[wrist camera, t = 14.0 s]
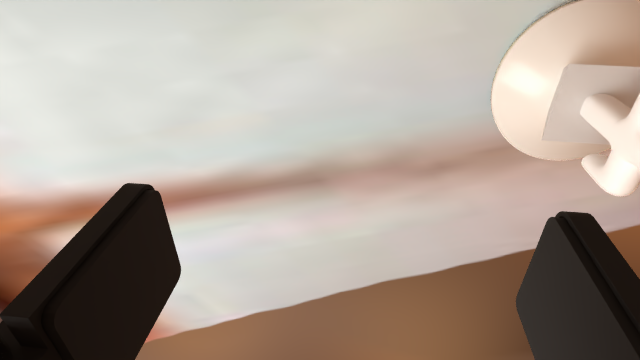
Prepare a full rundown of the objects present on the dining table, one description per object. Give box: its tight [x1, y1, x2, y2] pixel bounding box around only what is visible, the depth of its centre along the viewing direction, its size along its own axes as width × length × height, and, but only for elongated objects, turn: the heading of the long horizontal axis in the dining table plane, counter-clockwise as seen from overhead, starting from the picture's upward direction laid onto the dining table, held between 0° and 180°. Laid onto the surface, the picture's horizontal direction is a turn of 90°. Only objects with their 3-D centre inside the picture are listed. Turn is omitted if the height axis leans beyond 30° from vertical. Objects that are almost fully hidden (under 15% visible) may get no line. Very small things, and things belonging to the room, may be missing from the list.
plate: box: [490, 0, 640, 161], centre depth 38 cm, size 16×16×2 cm
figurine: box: [541, 64, 640, 196], centre depth 31 cm, size 7×9×15 cm
